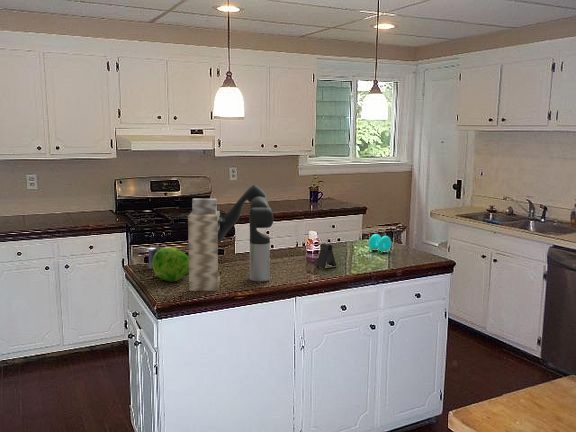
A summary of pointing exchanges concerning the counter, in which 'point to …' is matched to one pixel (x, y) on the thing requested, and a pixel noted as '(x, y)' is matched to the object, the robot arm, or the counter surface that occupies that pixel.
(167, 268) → the lettuce
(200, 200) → the grey patterned block
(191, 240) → the beige patterned upright block
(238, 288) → the counter surface
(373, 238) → the turquoise double oval
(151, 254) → the flask
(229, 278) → the counter surface
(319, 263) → the door stopper
